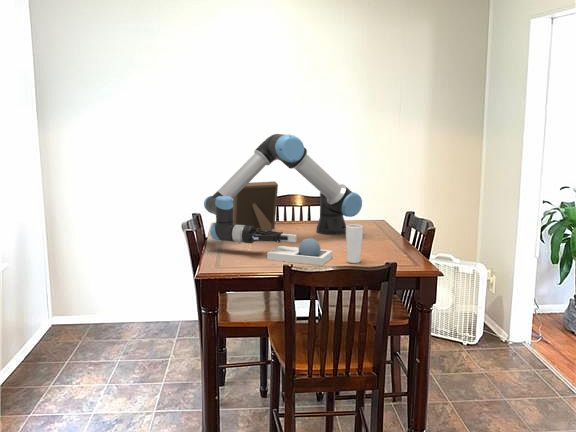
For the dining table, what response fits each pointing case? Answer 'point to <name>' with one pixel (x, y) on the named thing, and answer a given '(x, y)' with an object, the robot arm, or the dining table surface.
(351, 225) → the drinking glass
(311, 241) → the ball
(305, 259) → the white tray
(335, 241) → the dining table surface
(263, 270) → the dining table surface
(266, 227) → the photo frame
